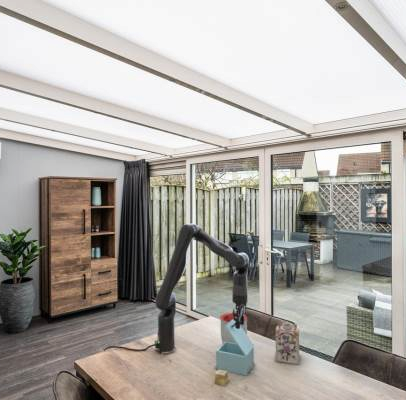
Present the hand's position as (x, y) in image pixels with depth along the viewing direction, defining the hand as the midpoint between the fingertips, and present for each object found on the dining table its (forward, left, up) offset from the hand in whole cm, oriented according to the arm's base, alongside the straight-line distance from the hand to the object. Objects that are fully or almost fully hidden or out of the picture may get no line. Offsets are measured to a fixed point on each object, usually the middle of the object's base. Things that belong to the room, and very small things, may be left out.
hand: (239, 326), depth 165 cm
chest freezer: (-2, +2, -21) cm, 21 cm away
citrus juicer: (+7, +24, -21) cm, 32 cm away
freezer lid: (0, 0, -5) cm, 5 cm away
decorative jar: (+28, +2, -21) cm, 35 cm away
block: (-14, -10, -21) cm, 27 cm away
